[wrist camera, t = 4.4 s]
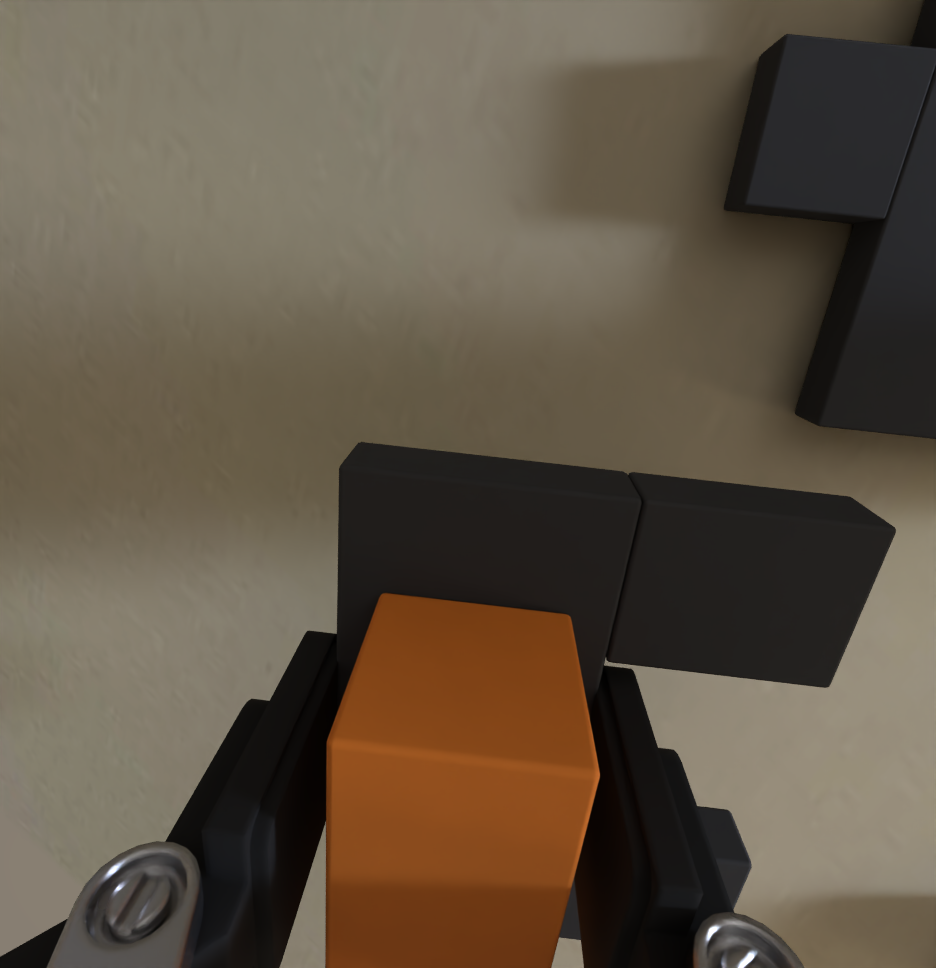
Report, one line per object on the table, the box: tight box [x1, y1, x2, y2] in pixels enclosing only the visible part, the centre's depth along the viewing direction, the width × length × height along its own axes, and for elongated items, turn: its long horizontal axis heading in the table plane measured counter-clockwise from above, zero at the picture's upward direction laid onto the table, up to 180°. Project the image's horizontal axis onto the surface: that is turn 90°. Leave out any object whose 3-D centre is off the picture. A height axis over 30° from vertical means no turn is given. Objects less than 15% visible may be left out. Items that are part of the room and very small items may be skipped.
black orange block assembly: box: [325, 442, 896, 968], centre depth 9 cm, size 10×8×4 cm
